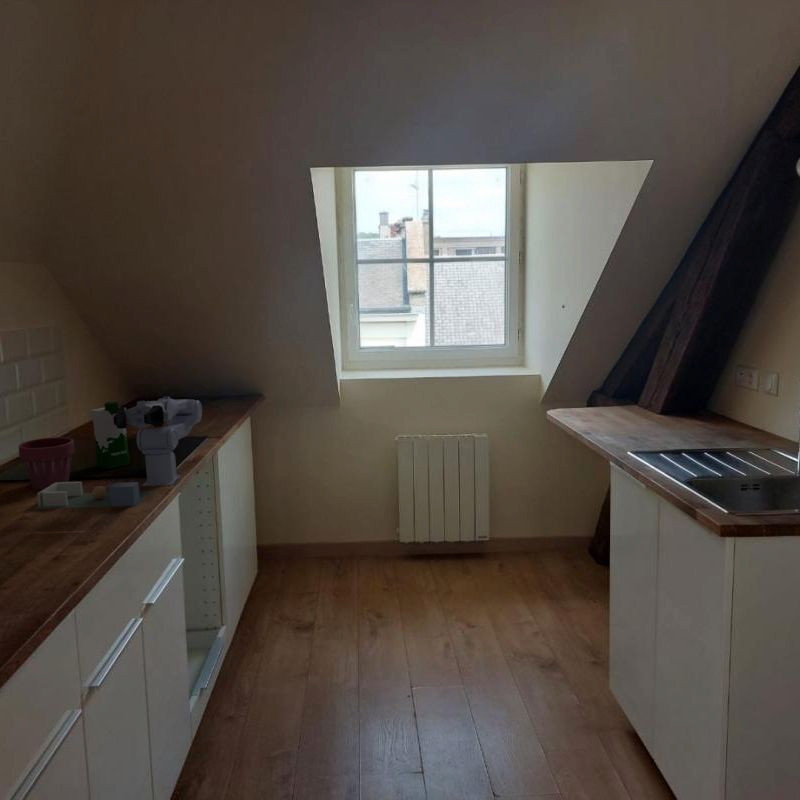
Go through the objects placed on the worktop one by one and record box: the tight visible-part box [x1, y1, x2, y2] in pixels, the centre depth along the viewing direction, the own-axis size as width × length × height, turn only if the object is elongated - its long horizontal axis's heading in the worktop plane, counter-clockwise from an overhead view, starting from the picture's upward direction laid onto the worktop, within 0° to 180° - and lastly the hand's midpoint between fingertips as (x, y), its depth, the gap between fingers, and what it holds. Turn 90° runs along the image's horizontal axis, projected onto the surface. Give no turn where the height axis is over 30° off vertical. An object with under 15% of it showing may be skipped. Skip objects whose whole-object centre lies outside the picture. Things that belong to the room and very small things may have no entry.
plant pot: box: [18, 436, 76, 491], centre depth 213 cm, size 14×14×13 cm
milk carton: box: [89, 401, 131, 470], centre depth 235 cm, size 9×9×20 cm
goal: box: [37, 481, 84, 507], centre depth 198 cm, size 10×7×4 cm
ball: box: [91, 485, 107, 499], centre depth 198 cm, size 4×4×4 cm
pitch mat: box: [33, 490, 154, 510], centre depth 198 cm, size 13×26×1 cm, turn 90°
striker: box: [108, 481, 140, 507], centre depth 193 cm, size 4×6×5 cm, turn 90°
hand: (130, 420), depth 192 cm, fingers open, 7 cm apart
